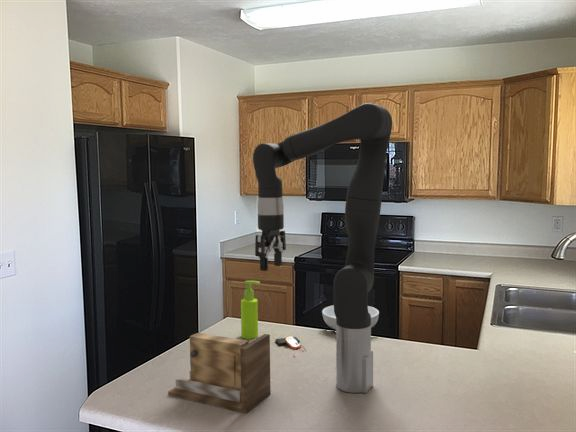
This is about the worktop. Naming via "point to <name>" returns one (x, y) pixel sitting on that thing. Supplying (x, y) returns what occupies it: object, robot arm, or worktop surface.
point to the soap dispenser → (249, 313)
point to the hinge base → (252, 381)
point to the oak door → (216, 360)
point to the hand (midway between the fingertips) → (271, 268)
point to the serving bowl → (331, 318)
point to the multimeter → (289, 342)
